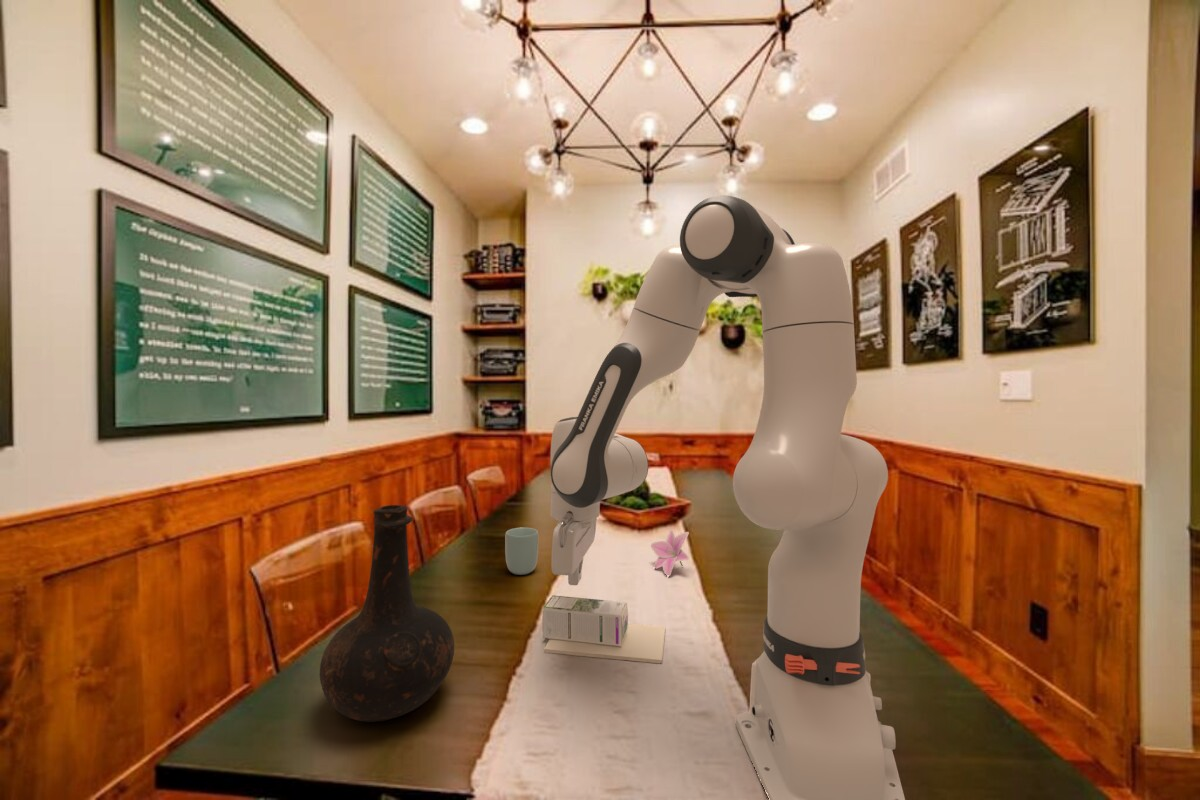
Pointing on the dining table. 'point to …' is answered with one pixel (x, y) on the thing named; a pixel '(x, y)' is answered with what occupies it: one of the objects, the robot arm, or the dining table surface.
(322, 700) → the dining table surface
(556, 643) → the mat
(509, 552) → the cup
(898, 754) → the dining table surface
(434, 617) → the glass bottle
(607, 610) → the syrup box
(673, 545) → the lily
